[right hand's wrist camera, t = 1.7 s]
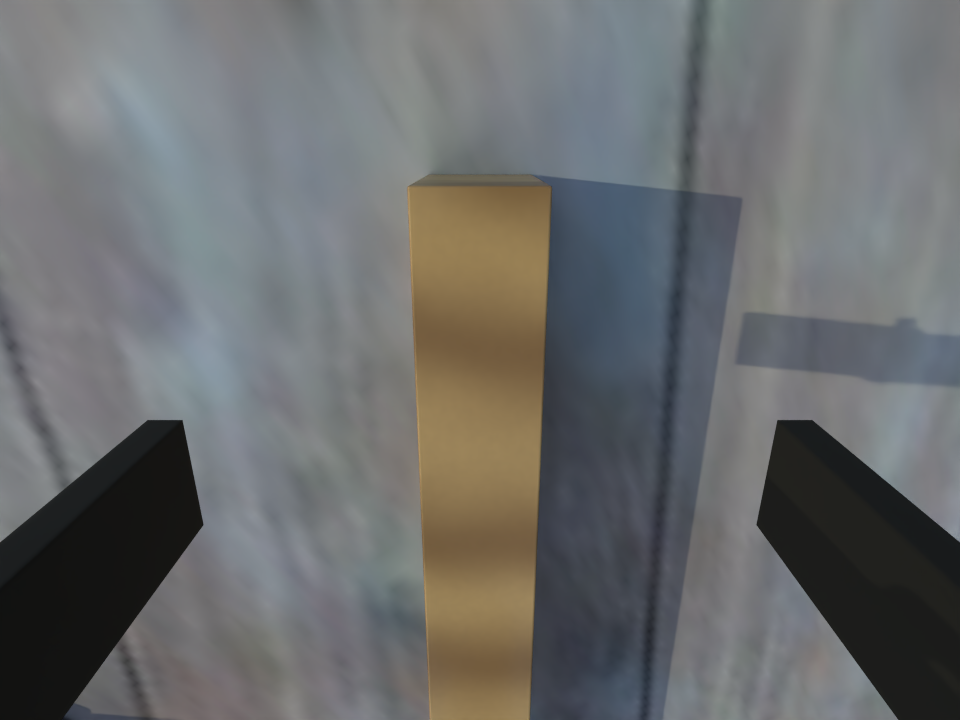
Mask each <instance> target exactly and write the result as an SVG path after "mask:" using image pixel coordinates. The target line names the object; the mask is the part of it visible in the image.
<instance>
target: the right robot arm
mask: <svg viewBox="0 0 960 720" xmlns="http://www.w3.org/2000/svg"><path fill="white" fill-rule="evenodd" d="M202 526H203V520H202V515H201V510H200V505H199V500H198V495H197V490H196V485H195V480H194V475H193V470H192V465H191V460H190V455H189V450H188V445H187V440H186V435H185V430H184V425H183V420H147V421H146V422H145V423H144V424H143V425H141V426H140V427H139V428H138V429H137V430H135V431H134V432H133V433H132V434H131V435H129V436H128V437H127V438H126V439H124V440H123V441H122V442H121V443H120V444H118V445H117V446H116V447H115V448H114V449H112V450H111V451H110V452H109V453H108V454H106V455H105V456H104V457H103V458H102V459H100V460H99V461H98V462H97V463H96V464H94V465H93V466H92V467H91V468H89V469H88V470H87V471H86V472H85V473H83V474H82V475H81V476H80V477H79V478H77V479H76V480H75V481H74V482H73V483H71V484H70V485H69V486H68V487H67V488H65V489H64V490H63V491H62V492H61V493H59V494H58V495H57V496H56V497H54V498H53V499H52V500H51V501H50V502H48V503H47V504H46V505H45V506H44V507H42V508H41V509H40V510H39V511H38V512H36V513H35V514H34V515H33V516H32V517H30V518H29V519H28V520H27V521H26V522H24V523H23V524H22V525H21V526H19V527H18V528H17V529H16V530H15V531H13V532H12V533H11V534H10V535H9V536H7V537H6V538H5V539H4V540H3V541H1V542H0V720H62V718H63V717H64V716H65V714H66V713H67V712H68V710H69V709H70V707H71V706H72V705H73V703H74V702H75V701H76V699H77V698H78V696H79V695H80V694H81V692H82V691H83V690H84V688H85V687H86V685H87V684H88V683H89V681H90V680H91V679H92V677H93V676H94V674H95V673H96V672H97V670H98V669H99V668H100V666H101V665H102V664H103V662H104V661H105V659H106V658H107V657H108V655H109V654H110V653H111V651H112V650H113V648H114V647H115V646H116V644H117V643H118V642H119V640H120V639H121V637H122V636H123V635H124V633H125V632H126V631H127V629H128V628H129V626H130V625H131V624H132V622H133V621H134V620H135V618H136V617H137V615H138V614H139V613H140V611H141V610H142V609H143V607H144V606H145V604H146V603H147V602H148V600H149V599H150V598H151V596H152V595H153V593H154V592H155V591H156V589H157V588H158V587H159V585H160V584H161V582H162V581H163V580H164V578H165V577H166V576H167V574H168V573H169V571H170V570H171V569H172V567H173V566H174V565H175V563H176V562H177V560H178V559H179V558H180V556H181V555H182V554H183V552H184V551H185V549H186V548H187V547H188V545H189V544H190V543H191V541H192V540H193V539H194V537H195V536H196V534H197V533H198V532H199V530H200V529H201V528H202ZM757 526H758V528H759V529H760V530H761V532H762V533H763V534H764V536H765V537H766V539H767V540H768V541H769V543H770V544H771V545H772V547H773V548H774V549H775V551H776V552H777V554H778V555H779V556H780V558H781V559H782V560H783V562H784V563H785V565H786V566H787V567H788V569H789V570H790V571H791V573H792V574H793V576H794V577H795V578H796V580H797V581H798V582H799V584H800V585H801V587H802V588H803V589H804V591H805V592H806V593H807V595H808V596H809V598H810V599H811V600H812V602H813V603H814V604H815V606H816V607H817V609H818V610H819V611H820V613H821V614H822V615H823V617H824V618H825V620H826V621H827V622H828V624H829V625H830V626H831V628H832V629H833V631H834V632H835V633H836V635H837V636H838V637H839V639H840V640H841V642H842V643H843V644H844V646H845V647H846V648H847V650H848V651H849V653H850V654H851V655H852V657H853V658H854V659H855V661H856V662H857V664H858V665H859V666H860V668H861V669H862V670H863V672H864V673H865V674H866V676H867V677H868V679H869V680H870V681H871V683H872V684H873V685H874V687H875V688H876V690H877V691H878V692H879V694H880V695H881V696H882V698H883V699H884V701H885V702H886V703H887V705H888V706H889V707H890V709H891V710H892V712H893V713H894V714H895V716H896V717H897V718H898V720H960V542H959V541H957V540H956V539H955V538H954V537H953V536H951V535H950V534H949V533H948V532H947V531H945V530H944V529H943V528H942V527H941V526H939V525H938V524H937V523H936V522H934V521H933V520H932V519H931V518H930V517H928V516H927V515H926V514H925V513H924V512H922V511H921V510H920V509H919V508H918V507H916V506H915V505H914V504H913V503H912V502H910V501H909V500H908V499H907V498H906V497H904V496H903V495H902V494H901V493H899V492H898V491H897V490H896V489H895V488H893V487H892V486H891V485H890V484H889V483H887V482H886V481H885V480H884V479H883V478H881V477H880V476H879V475H878V474H877V473H875V472H874V471H873V470H872V469H871V468H869V467H868V466H867V465H866V464H864V463H863V462H862V461H861V460H860V459H858V458H857V457H856V456H855V455H854V454H852V453H851V452H850V451H849V450H848V449H846V448H845V447H844V446H843V445H842V444H840V443H839V442H838V441H837V440H836V439H834V438H833V437H832V436H831V435H829V434H828V433H827V432H826V431H825V430H823V429H822V428H821V427H820V426H819V425H817V424H816V423H815V422H814V421H813V420H777V425H776V430H775V435H774V440H773V445H772V450H771V455H770V460H769V465H768V470H767V475H766V480H765V485H764V490H763V495H762V500H761V505H760V510H759V515H758V520H757Z"/></svg>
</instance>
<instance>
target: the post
mask: <svg viewBox="0 0 960 720" xmlns="http://www.w3.org/2000/svg"><path fill="white" fill-rule="evenodd" d="M407 192H408V216H409V239H410V263H411V286H412V310H413V333H414V357H415V380H416V404H417V427H418V451H419V474H420V498H421V521H422V545H423V568H424V592H425V615H426V639H427V662H428V685H429V709H430V720H530V704H531V680H532V656H533V633H534V609H535V585H536V561H537V537H538V513H539V489H540V465H541V442H542V418H543V394H544V370H545V346H546V322H547V298H548V275H549V251H550V227H551V203H552V187H551V186H550V185H548V184H546V183H545V182H543V181H541V180H539V179H538V178H536V177H534V176H533V175H427V176H425V177H424V178H422V179H420V180H418V181H417V182H415V183H413V184H411V185H410V186H408V188H407Z"/></svg>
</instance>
